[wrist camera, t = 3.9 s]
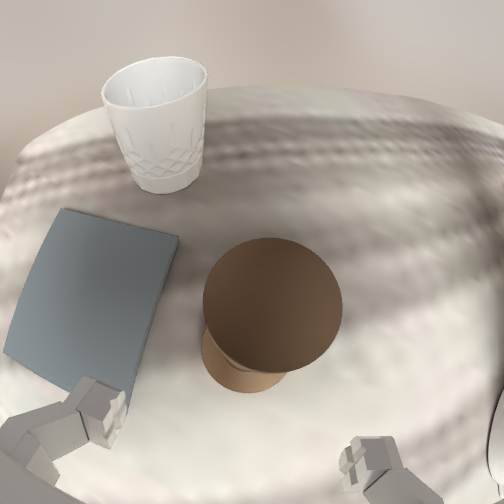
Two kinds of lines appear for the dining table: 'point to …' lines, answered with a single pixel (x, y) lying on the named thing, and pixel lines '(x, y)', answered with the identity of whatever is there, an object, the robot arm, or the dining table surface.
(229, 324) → the brown post
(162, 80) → the white cup
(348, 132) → the dining table surface
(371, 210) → the dining table surface
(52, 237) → the gray book
